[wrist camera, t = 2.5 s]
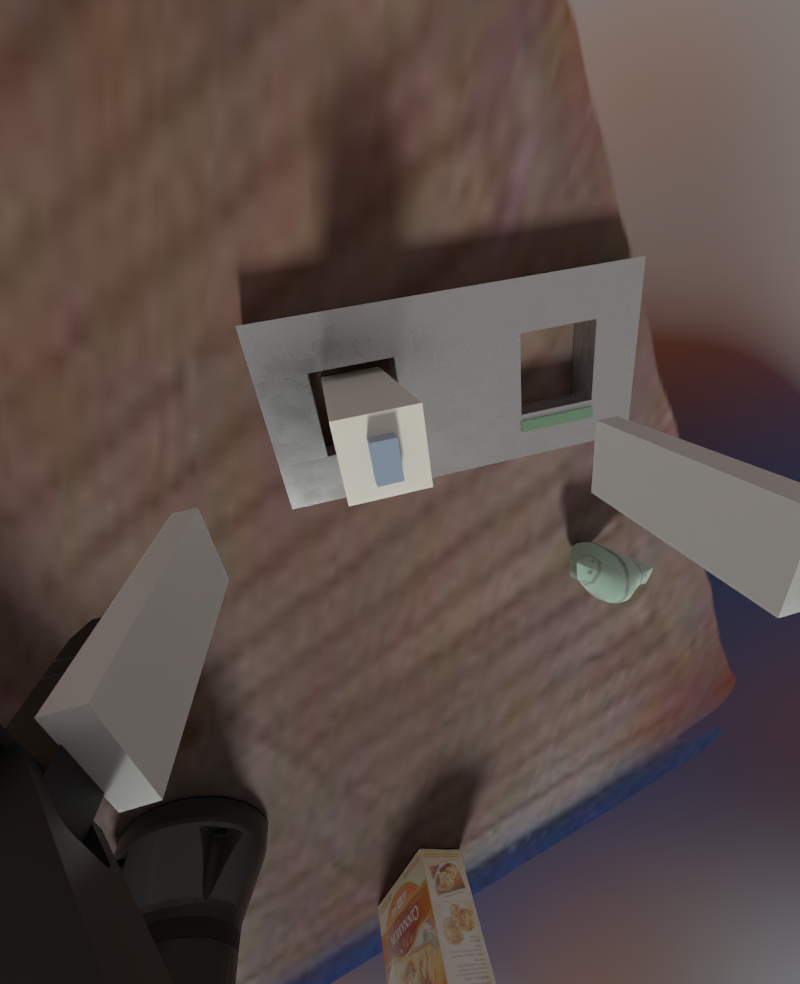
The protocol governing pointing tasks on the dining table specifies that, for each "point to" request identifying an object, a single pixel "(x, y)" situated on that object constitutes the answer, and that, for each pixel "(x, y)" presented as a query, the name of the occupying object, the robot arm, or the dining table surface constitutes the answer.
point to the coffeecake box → (433, 924)
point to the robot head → (607, 571)
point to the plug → (376, 435)
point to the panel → (453, 368)
